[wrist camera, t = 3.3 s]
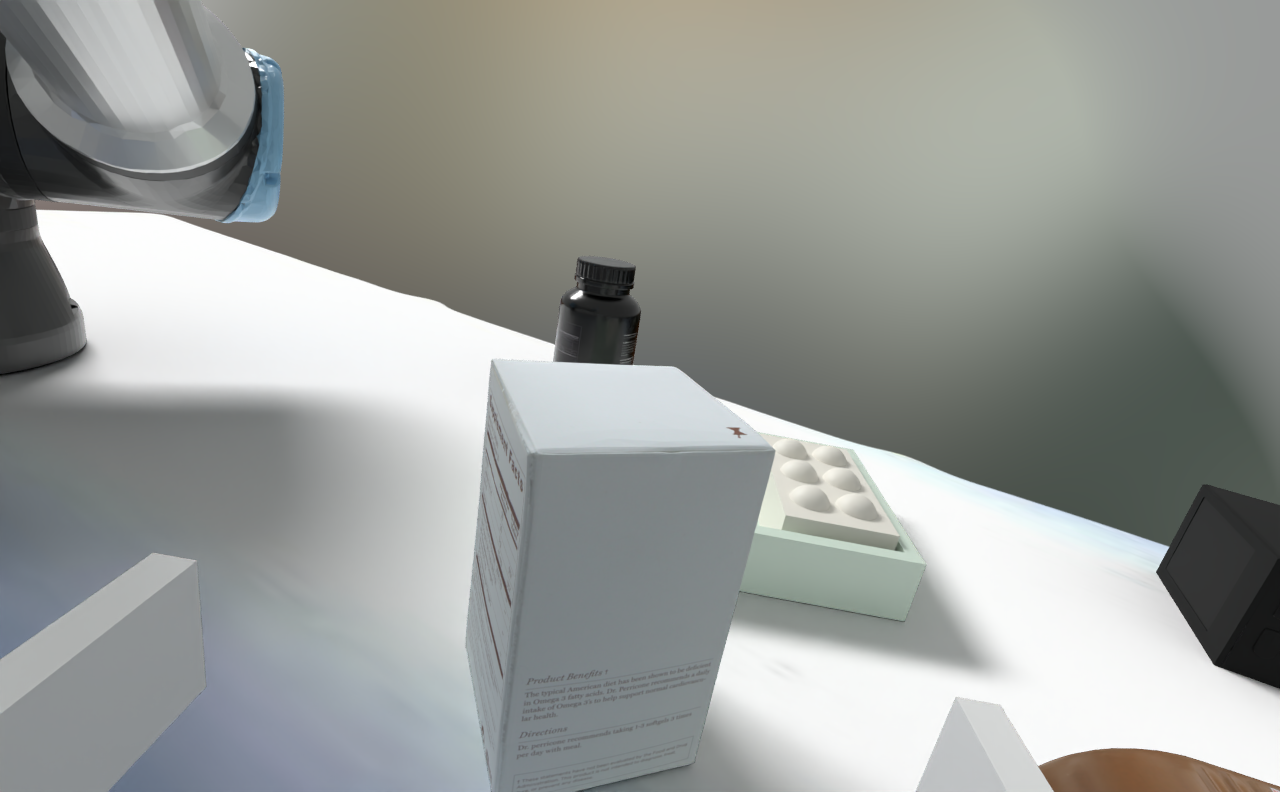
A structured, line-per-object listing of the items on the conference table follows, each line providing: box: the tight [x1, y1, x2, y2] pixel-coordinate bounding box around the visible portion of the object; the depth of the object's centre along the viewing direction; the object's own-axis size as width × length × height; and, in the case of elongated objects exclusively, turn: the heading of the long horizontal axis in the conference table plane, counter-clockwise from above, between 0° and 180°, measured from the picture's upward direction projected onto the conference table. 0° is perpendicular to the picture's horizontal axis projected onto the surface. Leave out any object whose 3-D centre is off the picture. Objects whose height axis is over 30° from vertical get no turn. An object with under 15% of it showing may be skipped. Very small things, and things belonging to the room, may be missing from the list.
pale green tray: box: [739, 432, 926, 622], centre depth 38 cm, size 20×14×4 cm
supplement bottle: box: [553, 256, 641, 365], centre depth 53 cm, size 7×7×12 cm
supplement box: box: [466, 359, 776, 792], centre depth 22 cm, size 7×7×13 cm
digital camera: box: [1156, 485, 1280, 688], centre depth 36 cm, size 10×5×7 cm, turn 155°
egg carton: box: [758, 434, 900, 551], centre depth 38 cm, size 6×11×4 cm, turn 177°
